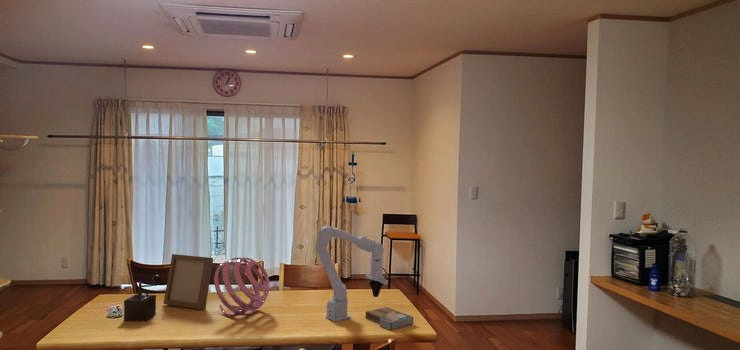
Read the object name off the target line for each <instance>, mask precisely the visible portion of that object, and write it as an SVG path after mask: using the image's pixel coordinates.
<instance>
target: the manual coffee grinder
mask: <svg viewBox="0 0 740 350" xmlns="http://www.w3.org/2000/svg"><path fill="white" fill-rule="evenodd" d="M161 279H162V276H160V275H159V274H154V275H153V276H152V281H153V283H152V284H144V285H143V283H142V281H139V282H138V286H137V287H138V293H135V294H134V295H132V296H130V297H129V298H126V299H124V301H123V321H124V322H148V321H149V320H150V319H152V318H154V316H156V314H157V311H156V310H157V299H156V298H157V295H156V294H149V293H145V292H142V288H149V287H156V286H158V285H160V280H161Z"/></svg>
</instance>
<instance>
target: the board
mask: <svg viewBox="0 0 740 350" xmlns="http://www.w3.org/2000/svg"><path fill="white" fill-rule="evenodd" d="M392 312H394V313H395V314H396V315H397V314H401V313H402V312H401V311H398V310H396V309H393V308H390V307H387V306H386V307H385V306H384V307H381V308H377V309H372V310H368V311H365V319H366V318H367V320H369V321H371V320H372V322H373V323H376V324H379V325H380V318H382V319H384V320H385V318H384V317H385V316H386V314H388V313H392Z"/></svg>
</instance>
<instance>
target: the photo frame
mask: <svg viewBox="0 0 740 350" xmlns="http://www.w3.org/2000/svg"><path fill="white" fill-rule="evenodd" d="M213 263H214V257H207V256H206V257H205V256H198V255H197V256H195V255H188V254H187V255H186V254H185V255H184V254H176V253H172V254H171V258H170V264H169V265H170V266H169V270H168V276H167V281H166V288H165V293H164V298H163V299H164V300H163V305H170V306H177V307H183V308H184V307H186V308H192V309H197V310H199V309H200V310H203V309H206V308H207V307H206V306H207V301H208V295H209V289H210V288H209V287H210V282H211V278H212V277H211V276H212V270H213Z"/></svg>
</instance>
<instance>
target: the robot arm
mask: <svg viewBox="0 0 740 350" xmlns="http://www.w3.org/2000/svg"><path fill="white" fill-rule="evenodd" d="M332 239H333V240H336V239H337V240H338V239H342V240H345V241H347V242H350V243H353V244H355V247H356V248H358V249H360V250H363V251H365V252H367V253H371V258H370V274H369V273H367V274H365V276H364V277H365V279H366V280H370V281H369V282H368V284H369V286H370V288H371V292H372V296H373V298H377V297H379V296H380V292H381V289H382V287H383V286H384V285H385V286H386V285H388V283H389V280H388V279H386V278H385V276H383V269H384V264H383V263H384V258H383V256H384V253H385V249H384V246H383V244H381V242H379V241H376V240H375V239H374V240H371V238H367V236H366V235H364V236H362V235H361V236H356V235H353V234H351V233H350V232H347V231H345V230H343V229H341V228H338V227H336V226H331V225H328V224H326V225H323V226H322V227H321V228H320V230H319V231H318V235H317V238H316V244H315V250H316V252H317V255H318V257H319V259H320V262H321V264H322V266H323V268H324V271H325V273H326V276H327V277H328V279H329V282H330V285H331V287H332V291H333V296H332V298H331V300H328V301H327V303H326V314H325V318H326V317H327V318H326V319H328V318H329V320H330V319H331V321H332V320H333V321H332V322H335V321H336V322H339V320H340V321H344V320H348V319H351V316H350V315H348V297H347V296H348V292H347V286H346V284H345V283H344V282H342V280H341V277H340V276H339V274H338V271H337V269H336V267H335V264H334V261H333V260H332V258H331V255H330V253H329V251H328V249H327V247H328V245H329V243H330V241H332ZM347 318H348V319H347ZM343 319H344V320H343Z"/></svg>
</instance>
